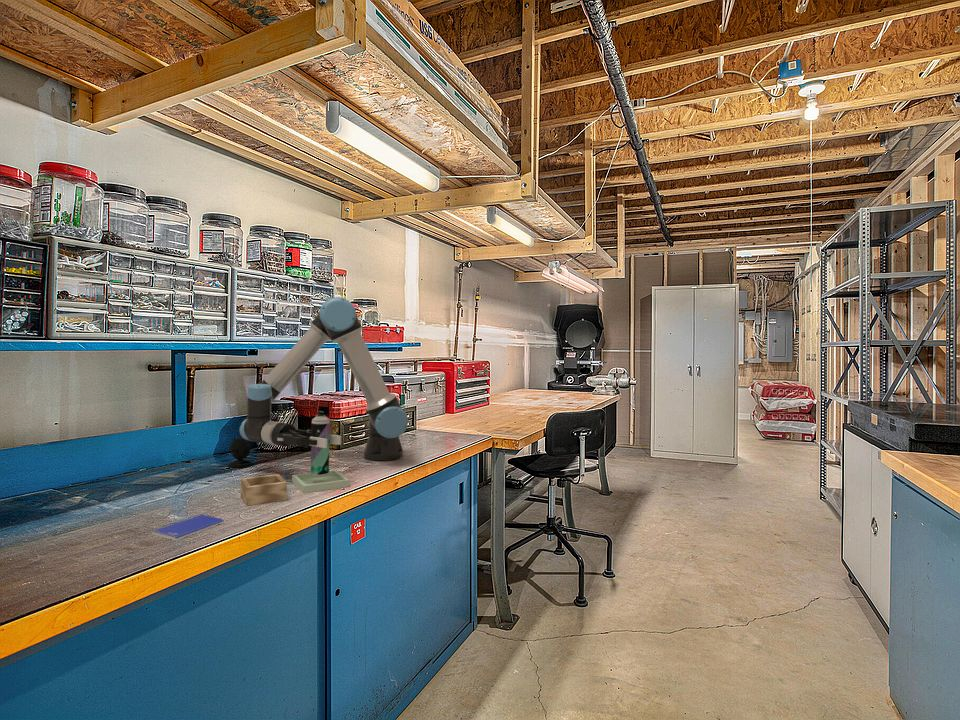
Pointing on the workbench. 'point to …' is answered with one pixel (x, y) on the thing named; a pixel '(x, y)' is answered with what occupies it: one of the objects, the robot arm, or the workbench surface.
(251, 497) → the wooden storage crate
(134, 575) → the workbench surface
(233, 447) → the webcam
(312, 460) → the spray can
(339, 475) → the tray
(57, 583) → the workbench surface
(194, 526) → the hard drive
